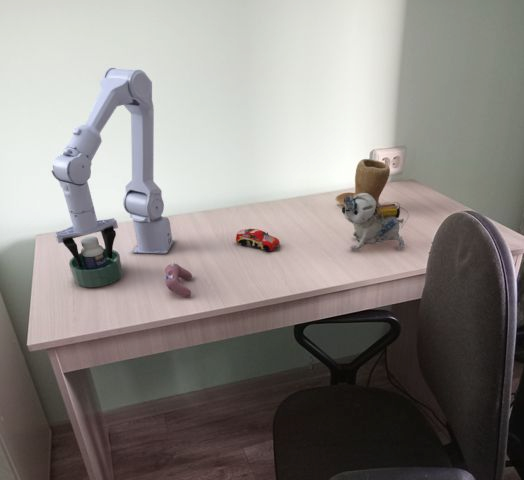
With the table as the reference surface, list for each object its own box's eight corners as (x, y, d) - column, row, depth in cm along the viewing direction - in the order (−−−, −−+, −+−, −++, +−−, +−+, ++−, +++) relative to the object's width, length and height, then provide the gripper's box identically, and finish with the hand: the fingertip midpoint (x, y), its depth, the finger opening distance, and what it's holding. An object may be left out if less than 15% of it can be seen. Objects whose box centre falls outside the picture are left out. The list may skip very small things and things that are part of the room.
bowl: (129, 266, 131) (126, 248, 128) (113, 289, 121) (108, 271, 118) (86, 265, 132) (81, 247, 129) (66, 288, 123) (60, 270, 119)
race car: (283, 246, 137) (283, 233, 135) (273, 254, 134) (273, 240, 131) (244, 236, 143) (243, 223, 141) (233, 243, 140) (232, 230, 137)
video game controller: (178, 284, 125) (162, 262, 121) (193, 275, 124) (177, 254, 120) (176, 304, 117) (159, 282, 113) (192, 296, 116) (175, 273, 112)
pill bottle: (103, 281, 124) (94, 245, 118) (84, 279, 125) (73, 243, 119) (112, 270, 128) (104, 235, 122) (93, 269, 129) (84, 234, 123)
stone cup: (392, 213, 153) (399, 164, 144) (360, 220, 150) (365, 170, 140) (364, 198, 164) (369, 151, 155) (334, 204, 161) (336, 157, 152)
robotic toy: (334, 238, 140) (337, 186, 131) (393, 234, 141) (401, 181, 132) (344, 259, 130) (348, 203, 121) (409, 254, 131) (418, 198, 122)
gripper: (105, 197, 121) (117, 247, 130) (45, 210, 115) (61, 263, 124) (115, 205, 117) (127, 257, 125) (53, 220, 111) (69, 274, 119)
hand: (95, 261), depth 124 cm, fingers open, 7 cm apart
